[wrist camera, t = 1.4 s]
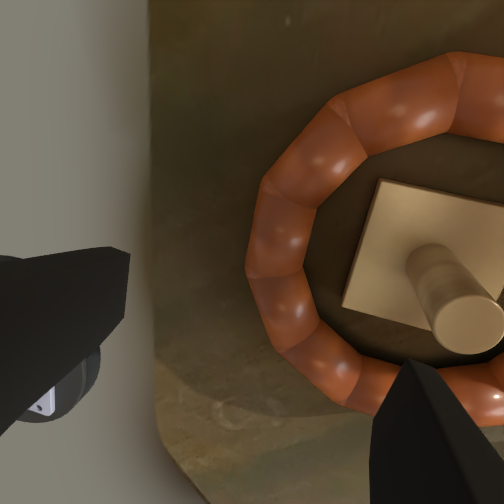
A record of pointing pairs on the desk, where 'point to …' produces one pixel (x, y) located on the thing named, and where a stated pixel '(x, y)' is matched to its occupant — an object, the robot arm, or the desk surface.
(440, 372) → the ring
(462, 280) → the stand
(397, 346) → the desk surface
